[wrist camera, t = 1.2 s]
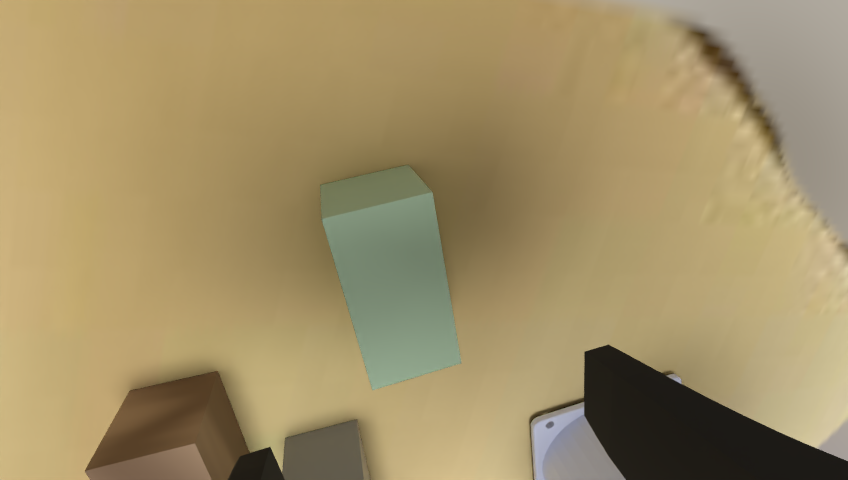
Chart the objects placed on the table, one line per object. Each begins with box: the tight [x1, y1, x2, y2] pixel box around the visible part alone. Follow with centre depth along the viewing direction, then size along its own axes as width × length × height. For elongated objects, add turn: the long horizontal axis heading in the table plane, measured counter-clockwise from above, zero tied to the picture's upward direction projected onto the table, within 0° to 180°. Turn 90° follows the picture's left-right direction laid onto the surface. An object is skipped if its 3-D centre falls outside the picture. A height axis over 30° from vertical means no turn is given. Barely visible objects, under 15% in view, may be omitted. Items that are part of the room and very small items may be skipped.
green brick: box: [320, 165, 461, 390], centre depth 16 cm, size 4×7×4 cm, turn 10°
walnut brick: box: [85, 371, 249, 480], centre depth 18 cm, size 4×7×4 cm, turn 6°
